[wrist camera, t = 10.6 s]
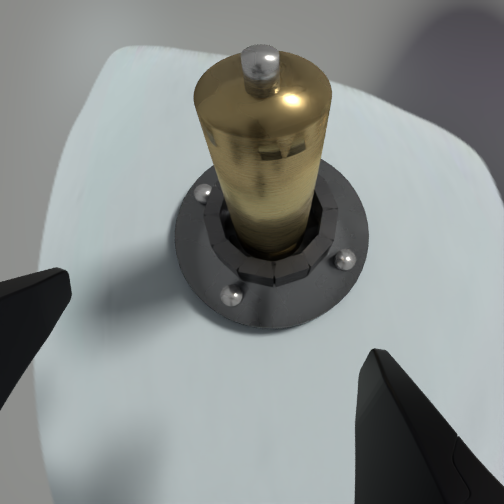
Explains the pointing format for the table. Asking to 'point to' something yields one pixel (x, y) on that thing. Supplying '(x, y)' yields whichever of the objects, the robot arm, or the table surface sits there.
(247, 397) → the table surface
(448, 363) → the table surface
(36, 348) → the robot arm
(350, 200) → the grey flange
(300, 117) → the brass pepper mill
